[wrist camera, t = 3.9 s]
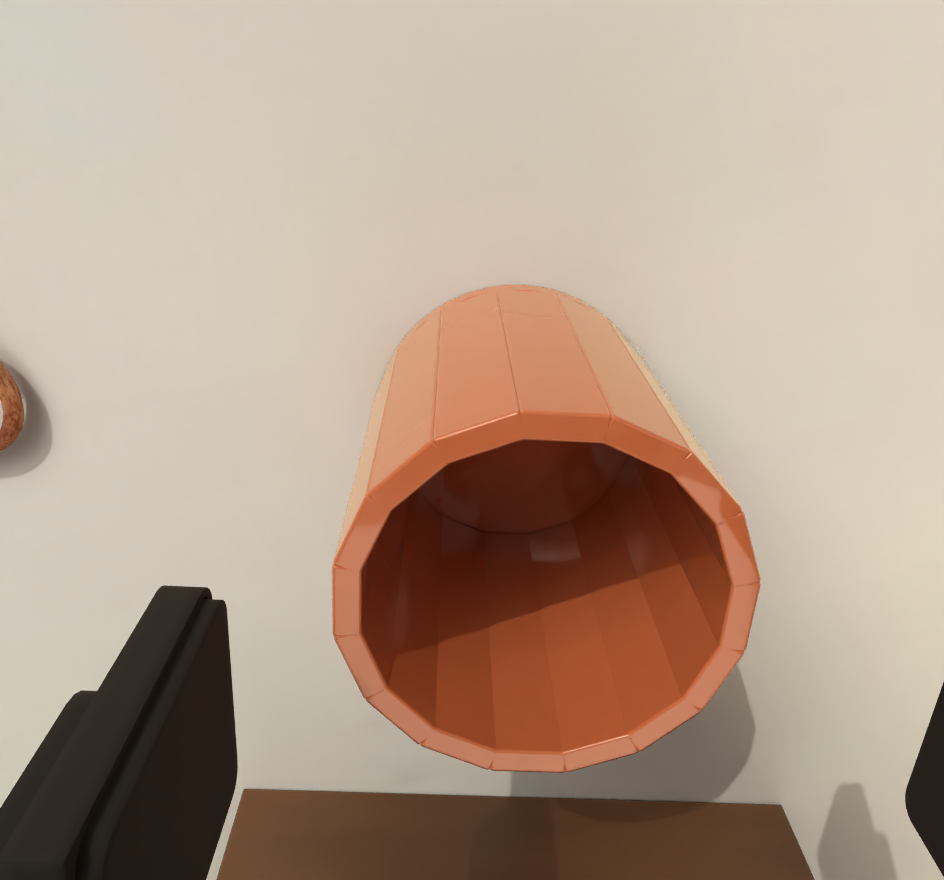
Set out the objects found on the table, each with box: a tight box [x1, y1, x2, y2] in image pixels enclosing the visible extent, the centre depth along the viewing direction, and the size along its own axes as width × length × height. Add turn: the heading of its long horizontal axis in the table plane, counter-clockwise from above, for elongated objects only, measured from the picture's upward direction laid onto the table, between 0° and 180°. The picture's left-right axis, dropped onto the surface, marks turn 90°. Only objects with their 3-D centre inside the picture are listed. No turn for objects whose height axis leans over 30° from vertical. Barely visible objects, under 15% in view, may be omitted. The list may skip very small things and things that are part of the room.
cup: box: [332, 285, 760, 773], centre depth 17 cm, size 6×6×8 cm
